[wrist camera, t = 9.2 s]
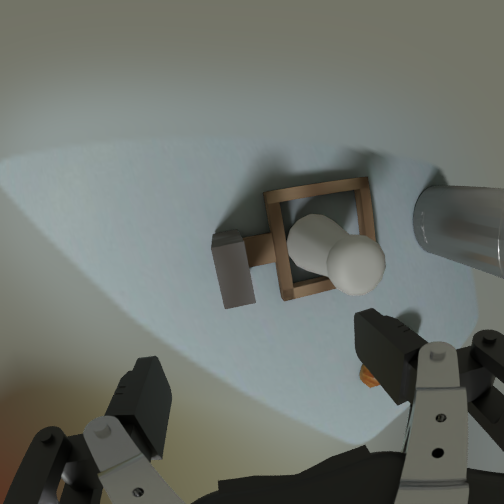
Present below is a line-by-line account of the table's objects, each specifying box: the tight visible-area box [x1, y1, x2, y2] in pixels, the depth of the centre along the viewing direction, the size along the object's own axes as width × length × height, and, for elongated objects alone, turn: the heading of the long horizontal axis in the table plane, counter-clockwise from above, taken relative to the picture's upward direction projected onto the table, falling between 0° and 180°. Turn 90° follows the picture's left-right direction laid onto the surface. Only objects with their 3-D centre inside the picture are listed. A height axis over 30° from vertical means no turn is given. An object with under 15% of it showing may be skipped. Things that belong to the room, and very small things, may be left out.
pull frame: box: [211, 177, 376, 309], centre depth 26 cm, size 17×11×8 cm, turn 100°
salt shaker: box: [287, 214, 386, 296], centre depth 24 cm, size 6×6×13 cm
